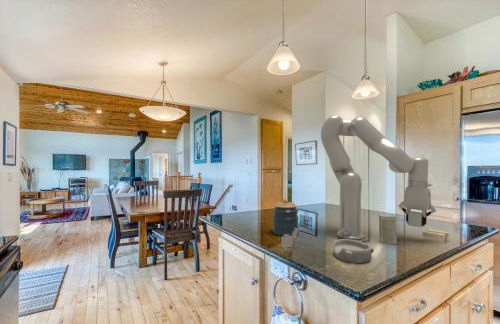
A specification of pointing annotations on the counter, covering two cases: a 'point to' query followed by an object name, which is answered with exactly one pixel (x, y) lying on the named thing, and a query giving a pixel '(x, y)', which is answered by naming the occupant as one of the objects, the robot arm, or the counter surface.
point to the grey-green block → (415, 219)
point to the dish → (352, 250)
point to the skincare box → (387, 229)
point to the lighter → (288, 239)
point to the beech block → (436, 236)
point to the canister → (285, 218)
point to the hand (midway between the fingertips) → (415, 223)
